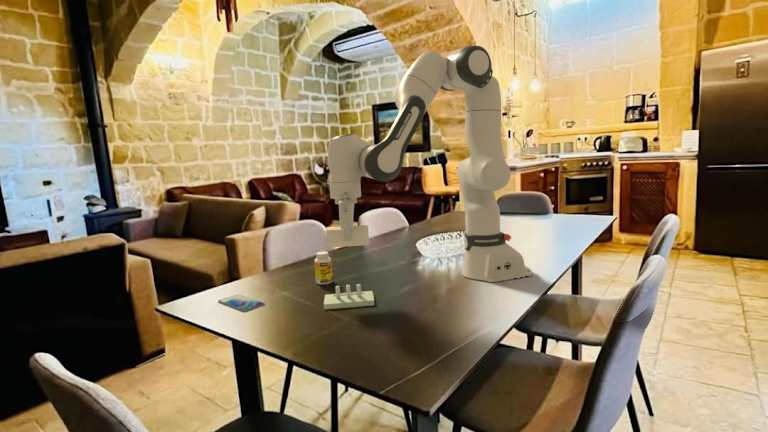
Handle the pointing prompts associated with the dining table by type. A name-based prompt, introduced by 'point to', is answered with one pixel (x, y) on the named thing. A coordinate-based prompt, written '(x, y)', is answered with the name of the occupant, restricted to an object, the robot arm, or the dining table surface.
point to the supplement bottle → (323, 268)
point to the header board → (348, 298)
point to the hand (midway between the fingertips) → (348, 238)
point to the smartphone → (241, 303)
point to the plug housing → (338, 240)
